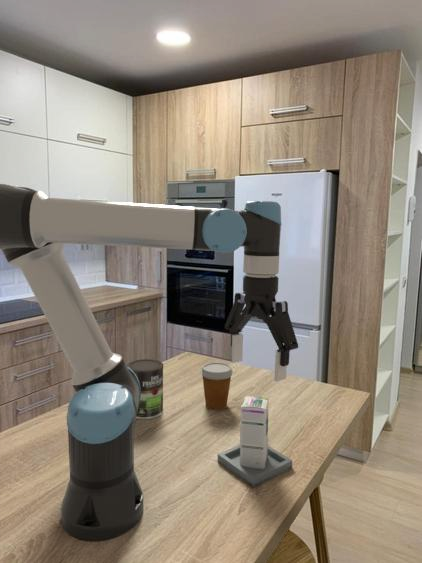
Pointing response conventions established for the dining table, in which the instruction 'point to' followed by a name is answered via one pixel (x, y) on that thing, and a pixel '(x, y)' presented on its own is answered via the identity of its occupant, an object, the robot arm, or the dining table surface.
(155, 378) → the coffee can
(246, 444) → the syrup box
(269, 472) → the tray
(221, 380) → the disposable coffee cup
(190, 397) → the dining table surface
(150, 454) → the dining table surface
